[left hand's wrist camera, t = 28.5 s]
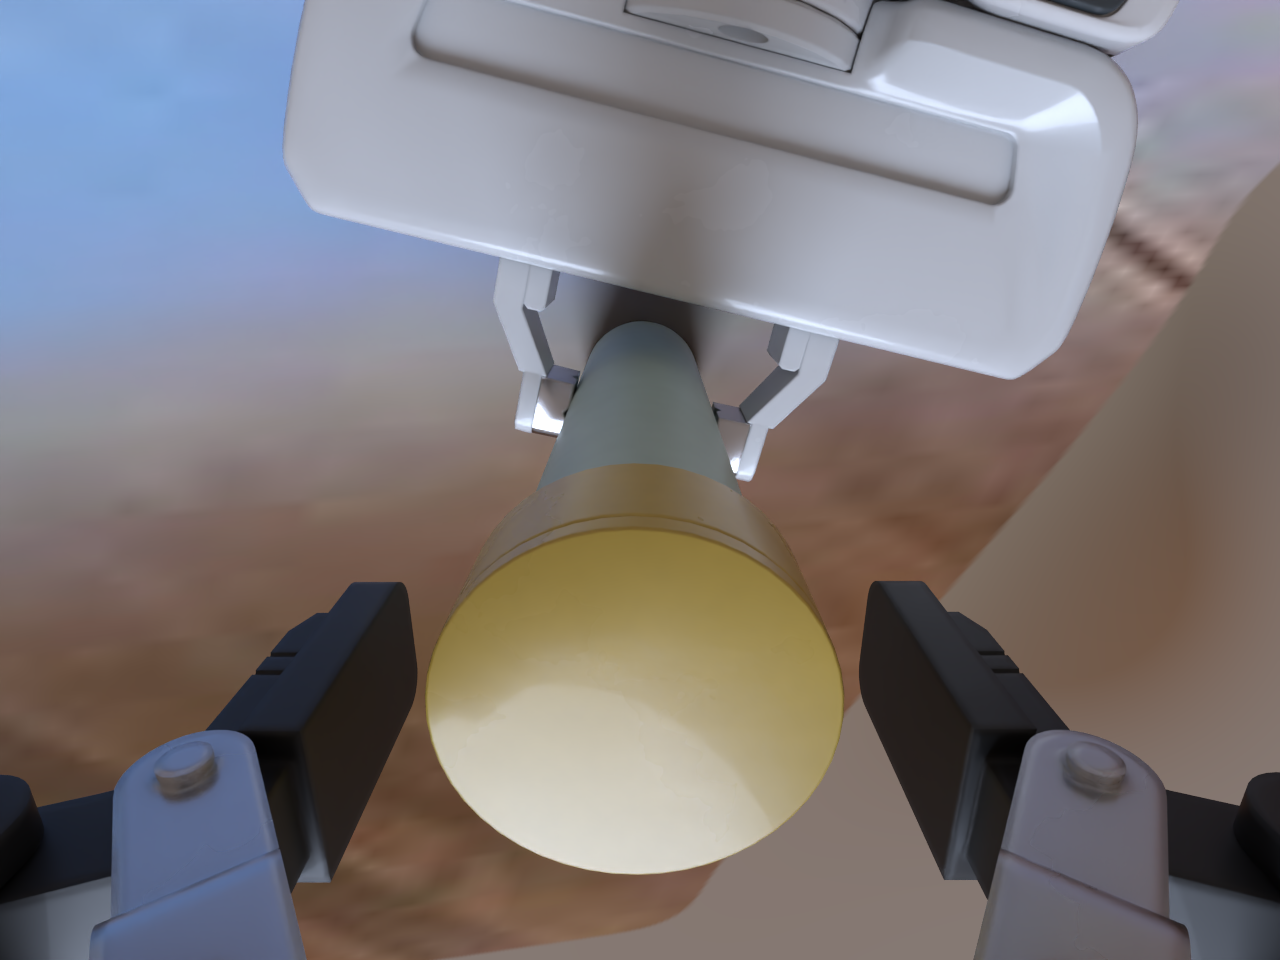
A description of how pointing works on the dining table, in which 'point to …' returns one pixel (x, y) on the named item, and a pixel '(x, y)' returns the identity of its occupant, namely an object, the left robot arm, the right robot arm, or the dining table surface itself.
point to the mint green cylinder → (640, 409)
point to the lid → (635, 674)
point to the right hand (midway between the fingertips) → (634, 450)
